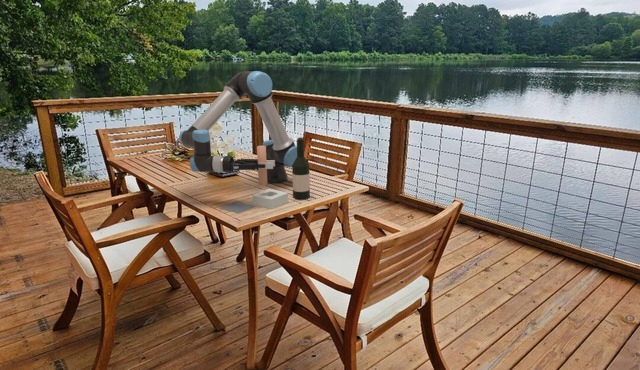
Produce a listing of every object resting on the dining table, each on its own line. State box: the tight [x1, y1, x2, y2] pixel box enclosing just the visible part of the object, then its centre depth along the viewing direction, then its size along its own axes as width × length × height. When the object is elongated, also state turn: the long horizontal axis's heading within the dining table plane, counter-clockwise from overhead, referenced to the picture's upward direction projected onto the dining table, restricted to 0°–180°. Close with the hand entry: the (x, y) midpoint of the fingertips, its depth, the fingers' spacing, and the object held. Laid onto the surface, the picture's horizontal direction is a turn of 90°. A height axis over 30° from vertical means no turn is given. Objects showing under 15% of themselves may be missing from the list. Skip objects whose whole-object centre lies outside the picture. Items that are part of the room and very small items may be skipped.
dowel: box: [256, 145, 268, 187], centre depth 194 cm, size 4×4×18 cm
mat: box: [219, 200, 258, 215], centre depth 195 cm, size 14×12×1 cm
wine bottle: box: [291, 136, 311, 201], centre depth 205 cm, size 8×8×30 cm
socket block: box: [251, 188, 289, 210], centre depth 200 cm, size 12×12×5 cm
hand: (273, 164), depth 193 cm, fingers closed on dowel, 4 cm apart
